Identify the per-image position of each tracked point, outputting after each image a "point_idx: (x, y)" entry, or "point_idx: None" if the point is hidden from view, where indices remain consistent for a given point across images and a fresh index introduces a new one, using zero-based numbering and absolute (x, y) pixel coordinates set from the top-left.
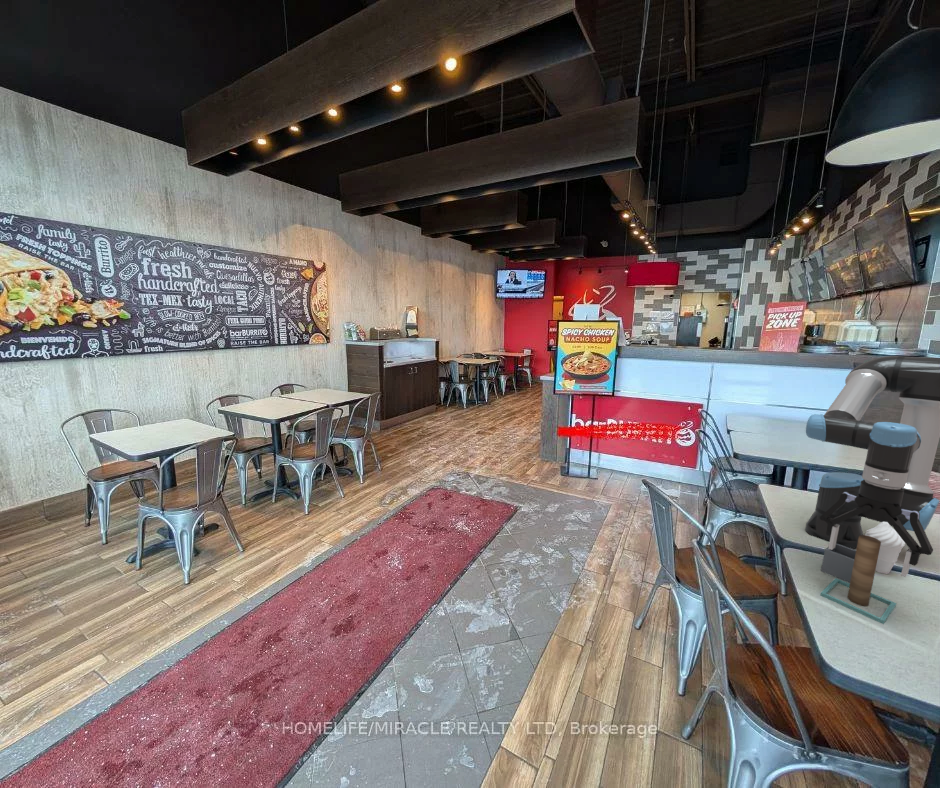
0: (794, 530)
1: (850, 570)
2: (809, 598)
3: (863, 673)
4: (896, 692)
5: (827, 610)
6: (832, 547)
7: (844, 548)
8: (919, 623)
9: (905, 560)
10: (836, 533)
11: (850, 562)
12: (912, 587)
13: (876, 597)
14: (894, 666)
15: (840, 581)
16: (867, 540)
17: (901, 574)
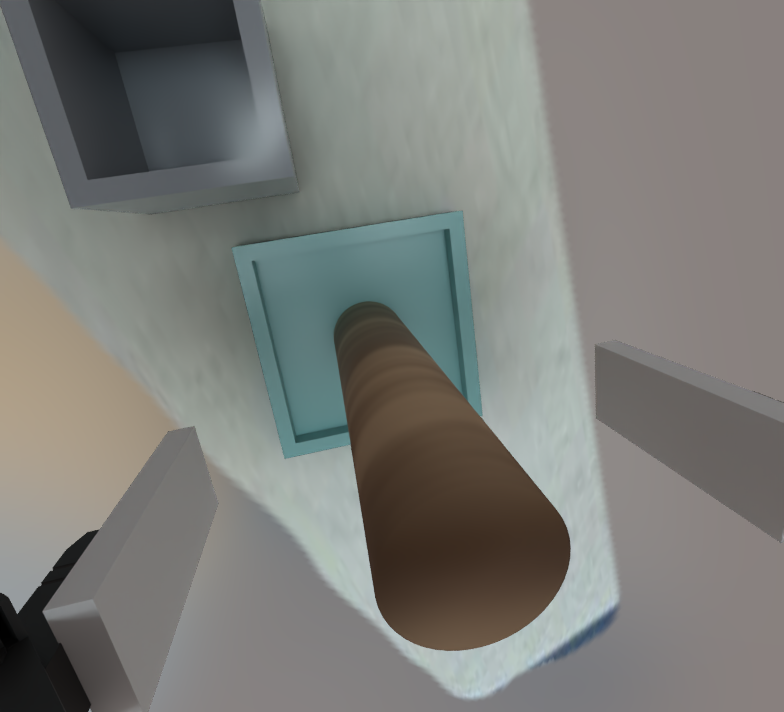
0: None
1: (260, 190)
2: (270, 481)
3: (514, 653)
4: (570, 639)
5: (341, 490)
6: (213, 514)
7: None
8: (528, 232)
9: (696, 479)
10: (160, 575)
11: (244, 186)
12: None
13: (398, 236)
14: None
15: (260, 258)
16: (474, 622)
17: (603, 422)
